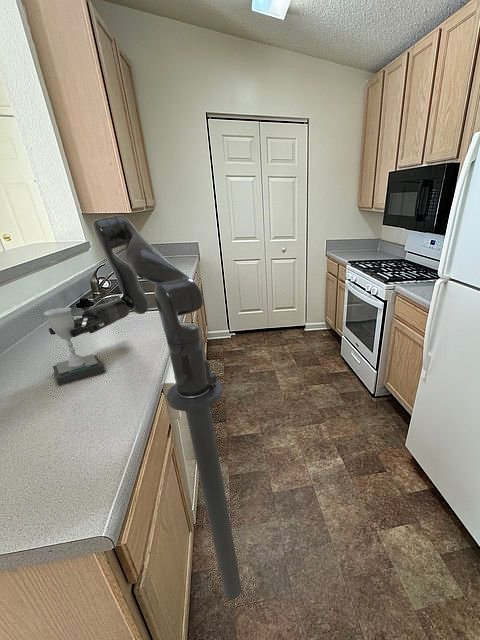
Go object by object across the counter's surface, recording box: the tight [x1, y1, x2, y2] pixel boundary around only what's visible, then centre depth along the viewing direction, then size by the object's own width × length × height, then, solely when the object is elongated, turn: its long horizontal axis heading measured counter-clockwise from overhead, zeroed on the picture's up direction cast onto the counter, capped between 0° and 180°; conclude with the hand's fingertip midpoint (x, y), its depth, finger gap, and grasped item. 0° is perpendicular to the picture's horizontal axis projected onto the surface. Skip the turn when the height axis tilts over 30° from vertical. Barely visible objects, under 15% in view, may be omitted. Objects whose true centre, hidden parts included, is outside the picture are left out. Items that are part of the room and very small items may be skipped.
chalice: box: [43, 307, 86, 367], centre depth 106 cm, size 7×7×18 cm
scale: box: [52, 354, 106, 387], centre depth 110 cm, size 13×11×3 cm
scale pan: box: [55, 353, 98, 375], centre depth 110 cm, size 11×9×1 cm
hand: (60, 333), depth 103 cm, fingers open, 8 cm apart
